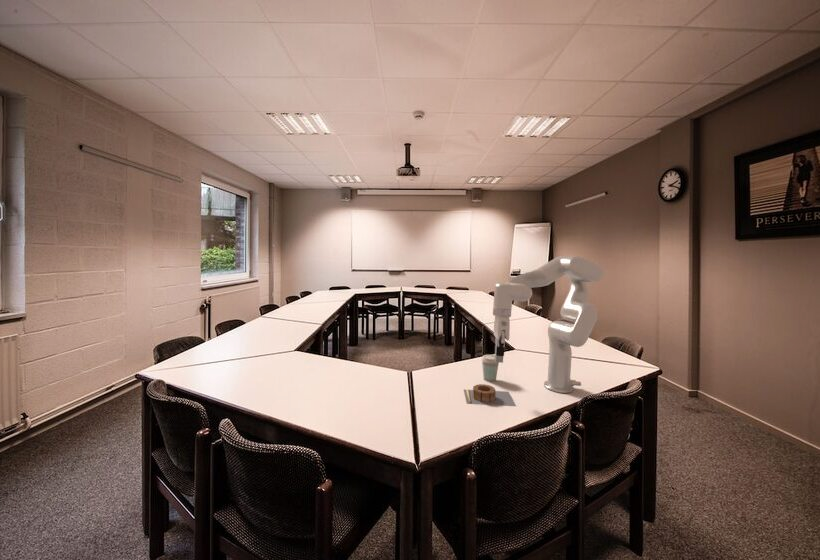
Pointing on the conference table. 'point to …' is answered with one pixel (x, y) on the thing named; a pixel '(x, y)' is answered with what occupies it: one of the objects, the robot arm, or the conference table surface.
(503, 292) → the robot arm
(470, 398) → the mat
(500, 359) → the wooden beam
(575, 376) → the conference table surface
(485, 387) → the brown wooden ring
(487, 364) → the coffee cup
